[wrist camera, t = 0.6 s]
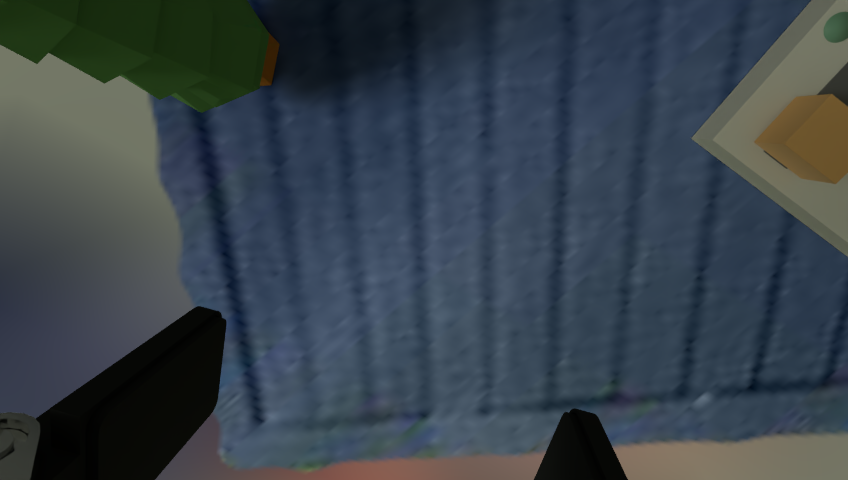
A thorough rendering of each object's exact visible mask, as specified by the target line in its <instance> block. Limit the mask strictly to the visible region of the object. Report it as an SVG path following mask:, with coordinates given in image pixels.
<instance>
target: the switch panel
mask: <svg viewBox="0 0 848 480" xmlns="http://www.w3.org/2000/svg"><path fill="white" fill-rule="evenodd" d="M824 94H833V95H834V96H835V97H836V98H838V99H839V100H840V101H841V102H843V103H844V104H845V105H846V106H848V0H811V2H810V3H809V4H808V5H807V6H806V7H805V8H804V10H803V11H802V12H801V13H800V14H799V15H798V17H797V18H796V19H795V20H794V21H793V22H792V23H791V25H790V26H789V27H788V28H787V29H786V30H785V31H784V33H783V34H782V35H781V36H780V37H779V38H778V39H777V41H776V42H775V43H774V44H773V45H772V46H771V47H770V49H769V50H768V51H767V52H766V53H765V54H764V55H763V57H762V58H761V59H760V60H759V61H758V62H757V64H756V65H755V66H754V67H753V68H752V69H751V70H750V72H749V73H748V74H747V75H746V76H745V77H744V78H743V80H742V81H741V82H740V83H739V84H738V85H737V86H736V88H735V89H734V90H733V91H732V92H731V93H730V94H729V96H728V97H727V98H726V99H725V100H724V101H723V102H722V104H721V105H720V106H719V107H718V108H717V109H716V111H715V112H714V113H713V114H712V115H711V116H710V117H709V119H708V120H707V121H706V122H705V123H704V124H703V125H702V127H701V128H700V129H699V130H698V131H697V132H696V133H695V135H694V136H693V137H692V138H691V139H692V140H694V141H695V142H696V143H698V144H699V145H700V146H702V147H703V148H704V149H706V150H707V151H708V152H710V153H711V154H712V155H714V156H715V157H716V158H717V159H719V160H720V161H721V162H723V163H724V164H725V165H727V166H728V167H729V168H731V169H732V170H733V171H735V172H736V173H737V174H739V175H740V176H741V177H743V178H744V179H745V180H747V181H748V182H749V183H751V184H752V185H753V186H755V187H756V188H757V189H759V190H760V191H761V192H763V193H764V194H765V195H766V196H768V197H769V198H770V199H772V200H773V201H774V202H776V203H777V204H778V205H780V206H781V207H782V208H784V209H785V210H786V211H788V212H789V213H790V214H792V215H793V216H794V217H796V218H797V219H798V220H800V221H801V222H802V223H804V224H805V225H806V226H808V227H809V228H810V229H812V230H813V231H814V232H815V233H817V234H818V235H819V236H821V237H822V238H823V239H825V240H826V241H827V242H829V243H830V244H831V245H833V246H834V247H835V248H837V249H838V250H839V251H841V252H842V253H843V254H845V255H846V256H847V257H848V173H847V174H846V175H845V176H844V177H843V178H842V179H841V180H840V181H839V182H838V183H837V184H832V183H825V182H819V181H813V180H807V179H801V178H800V177H798V176H797V175H796V174H795V173H793V172H792V171H791V170H789V169H788V168H787V167H785V166H784V165H783V164H782V163H780V162H779V161H778V160H776V159H775V158H774V157H772V156H771V155H770V154H769V153H767V152H766V151H765V150H763V149H762V148H761V147H759V146H758V145H757V144H756V143H754V141H755V140H756V139H757V138H758V137H759V136H760V135H761V134H762V133H763V132H764V131H765V129H766V128H767V127H768V126H769V125H770V124H771V123H772V122H773V121H774V120H775V119H776V118H777V117H778V115H779V114H780V113H781V112H782V111H783V110H784V109H785V108H786V107H787V106H788V105H789V104H790V102H791V101H792V100H793V99H794V98H795V97H799V96H812V95H824Z"/></svg>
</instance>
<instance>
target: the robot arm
mask: <svg viewBox="0 0 848 480" xmlns="http://www.w3.org/2000/svg"><path fill="white" fill-rule="evenodd" d="M225 332H226V320H225V319H223V318H222V315H221V313H220V312H219V311H215V310H212V309H208V308H204V307H201V306H197V307H195V308H194V309H192V310H191V311H189V312H188V313H186V314H185V315H184V316H182V317H181V318H179V319H178V320H176V321H175V322H174V323H172V324H171V325H169V326H168V327H166V328H165V329H164V330H162V331H161V332H159V333H158V334H156V335H155V336H153V337H152V338H150V339H149V340H148V341H146V342H145V343H143V344H142V345H140V346H139V347H137V348H136V349H135V350H133V351H132V352H130V353H129V354H127V355H126V356H125V357H123V358H122V359H120V360H119V361H118V362H116V363H114V364H113V365H112V366H110V367H109V368H107V369H106V370H104V371H103V372H102V373H100V374H99V375H97V376H96V377H95V378H93V379H92V380H90V381H89V382H87V383H86V384H84V385H83V386H81V387H80V388H78V389H77V390H76V391H74V392H73V393H71V394H70V395H68V396H67V397H66V398H64V399H63V400H61V401H60V402H58V403H57V404H55V405H54V406H53V407H51V408H50V409H49V410H47V411H46V412H44V413H43V414H42V415H40V416H39V417H37V418H36V419H35V418H34V417H32V416H29V415H26V414H22V413H11V412H10V413H1V414H0V480H155V479H156V478H157V477H158V475H159V474H160V473H161V472H162V470H164V468H165V467H166V466H167V465H168V464H169V462H170V461H171V460H172V459H173V458H174V457H175V455H176V454H177V453H178V452H179V451H180V450H181V449H182V447H183V446H184V445H185V444H186V443H187V441H188V440H189V439H190V438H191V437H192V436H193V434H194V433H195V432H196V431H197V430H198V429H199V427H200V426H201V425H202V424H203V423H204V421H205V420H206V419H207V418H208V417H209V416H210V415H211V413H212V412H213V410H214V408H215V406H216V404H217V400H218V393H219V384H220V375H221V366H222V358H223V349H224V340H225ZM534 480H628V479H627V477H626V475H625V473H624V471H623V469H622V467H621V464H620V462H619V460H618V458H617V456H616V454H615V452H614V450H613V448H612V445H611V443H610V441H609V439H608V437H607V435H606V433H605V431H604V429H603V427H602V424H601V422H600V420H599V418H598V417H597V415H595V414H593V413H590V412H586V411H582V410H579V409H572V410H571V411H570V412H569V413H568V412H565V413H564V414H563V415H562V417H561V419H560V422H559V424H558V426H557V429H556V431H555V433H554V435H553V438H552V440H551V442H550V444H549V447H548V449H547V451H546V454H545V456H544V458H543V460H542V463H541V465H540V467H539V469H538V472H537V474H536V476H535V479H534Z"/></svg>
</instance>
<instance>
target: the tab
mask: <svg viewBox="0 0 848 480" xmlns="http://www.w3.org/2000/svg"><path fill="white" fill-rule="evenodd" d="M754 143H756V144H757V145H758V146H759V147H761V148H762V149H763V150H765V151H766V152H767V153H769V154H770V155H771V156H772V157H774V158H775V159H776V160H778V161H779V162H780V163H782V164H783V165H784V166H785V167H787V168H788V169H789V170H791V171H792V172H793V173H795V174H796V175H797V176H798V177H800V178H801V179H807V180H813V181H819V182H825V183H832V184H837V183H838V182H839V181H840V180H841V179H842V178H843V177H844V176H845V175H846V174H847V173H848V106H846V105H845V104H844V103H843V102H841V101H840V100H839V99H838V98H836V97H835V96H834V95H833V94H824V95H812V96H799V97H795V98H794V99H793V100H792V101H791V102H790V104H789V105H788V106H787V107H786V108H785V109H784V110H783V111H782V112H781V113H780V114H779V115H778V117H777V118H776V119H775V120H774V121H773V122H772V123H771V124H770V125H769V126H768V127H767V128H766V129H765V131H764V132H763V133H762V134H761V135H760V136H759V137H758V138H757V139H756V140H755V141H754Z"/></svg>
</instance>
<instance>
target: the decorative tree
mask: <svg viewBox="0 0 848 480" xmlns="http://www.w3.org/2000/svg"><path fill="white" fill-rule="evenodd" d="M0 45H2V46H4V47H6V48H8V49H10V50H11V51H14V52H15V53H17V54H19V55H21V56H23V57H25V58H27V59H29V60H31V61H32V62H34V63H36V64H38V62H39V61H40V60H42V59H43V57H45V56H46V54H48V53H50V54H52V55H54V56H56V57H58V58H59V59H61V60H63V61H65V62H67V63H69V64H70V65H72V66H74V67H76V68H77V69H79V70H81V71H83V72H85V73H86V74H88V75H90V76H92V77H94V78H96V79H97V80H99V81H101V82H103V83H106V82H108V81H110V80H112V79H114V78H116V77H118V76H122V77H124V78H125V79H127V80H128V81H130V82H132V83H133V84H135V85H137V86H138V87H140V88H141V89H143V90H145V91H146V92H148V93H149V94H151V95H153V96H154V97H156V98H158V99H159V100H160V99H163V98H165V97H167V96H169V95H171V96H173V97H175V98H176V99H178V100H180V101H182V102H183V103H185V104H187V105H189V106H191V107H192V108H194V109H196V110H198V111H199V112H201V113H202V112H204V111H206V110H209V109H211V108H214V107H218V106H220V105H223V104H225V103H227V102H229V101H232V100H234V99H236V98H239V97H241V96H243V95H246V94H248V93H250V92H253V91H255V90H257V89H259V88H260V86H265V85H271V84H272V79H273V74H274V69H275V64H276V59H277V54H278V49H279V43H278V42H277V41H276V40H275V39H274V38H273V37H272V36H271V34H270V33H269V32H268V31H267V30H266V28H265V27H264V25H263V24H262V22H261V21H260V19H259V18H258V16H257V15H256V13H255V12H254V10H253V9H252V7H251V6H250V4H249V3H248V1H247V0H0Z"/></svg>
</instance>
